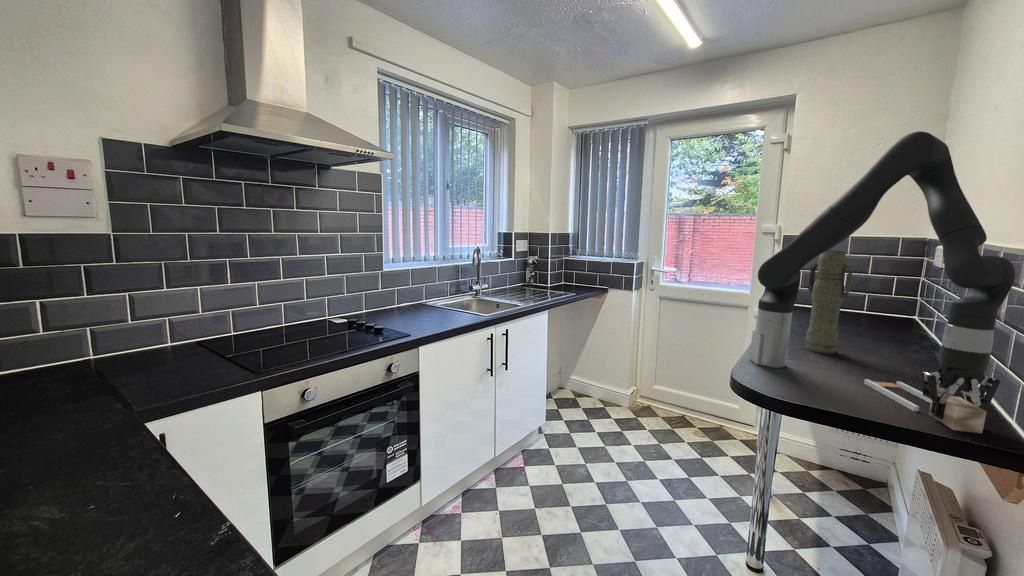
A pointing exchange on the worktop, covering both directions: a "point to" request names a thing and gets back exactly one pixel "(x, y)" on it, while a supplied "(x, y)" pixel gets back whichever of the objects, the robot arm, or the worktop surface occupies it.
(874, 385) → the channel
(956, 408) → the beech block
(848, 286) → the thermos
